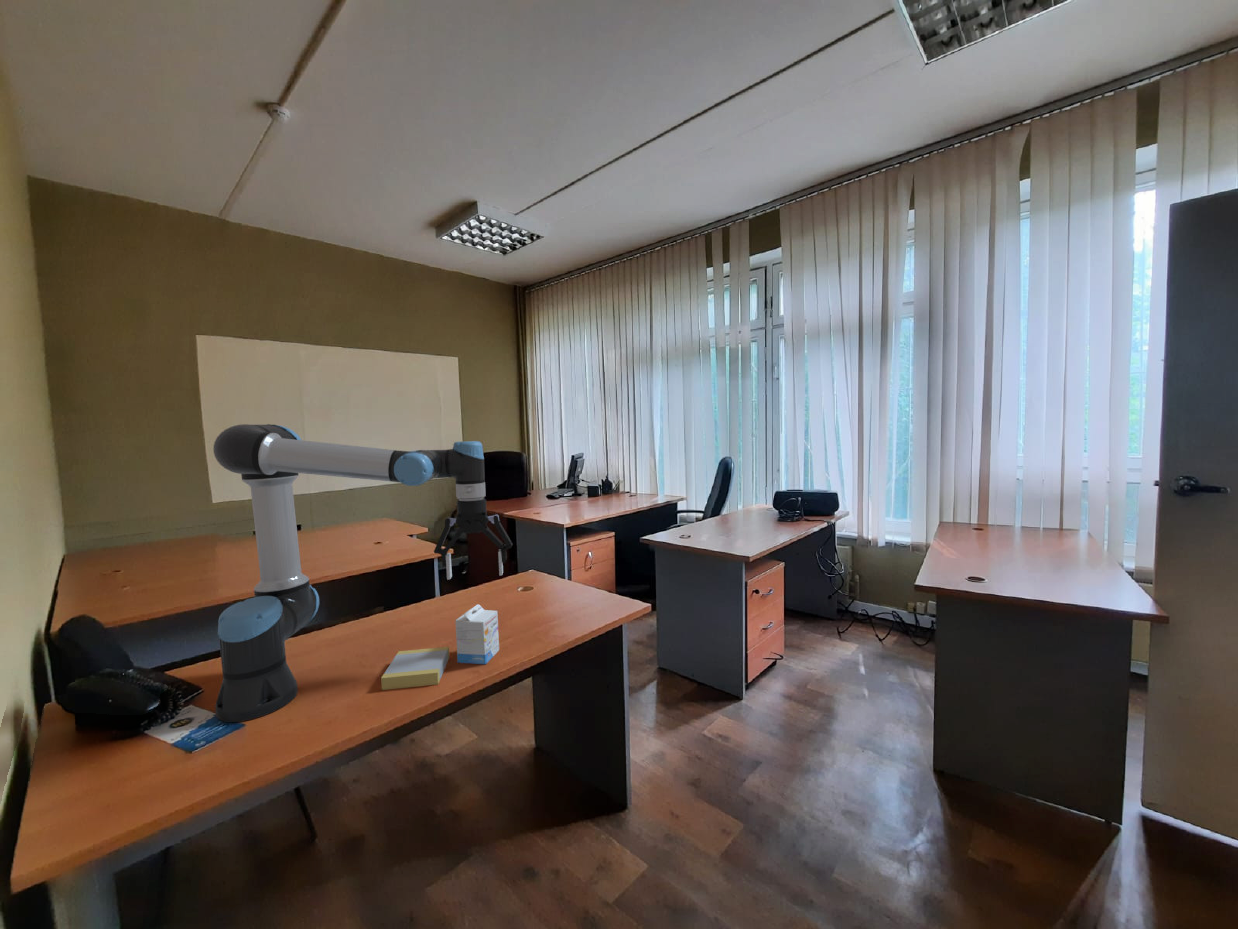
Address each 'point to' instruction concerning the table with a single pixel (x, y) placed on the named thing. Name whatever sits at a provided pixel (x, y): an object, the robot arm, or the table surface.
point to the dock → (415, 668)
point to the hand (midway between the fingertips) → (475, 576)
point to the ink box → (477, 636)
